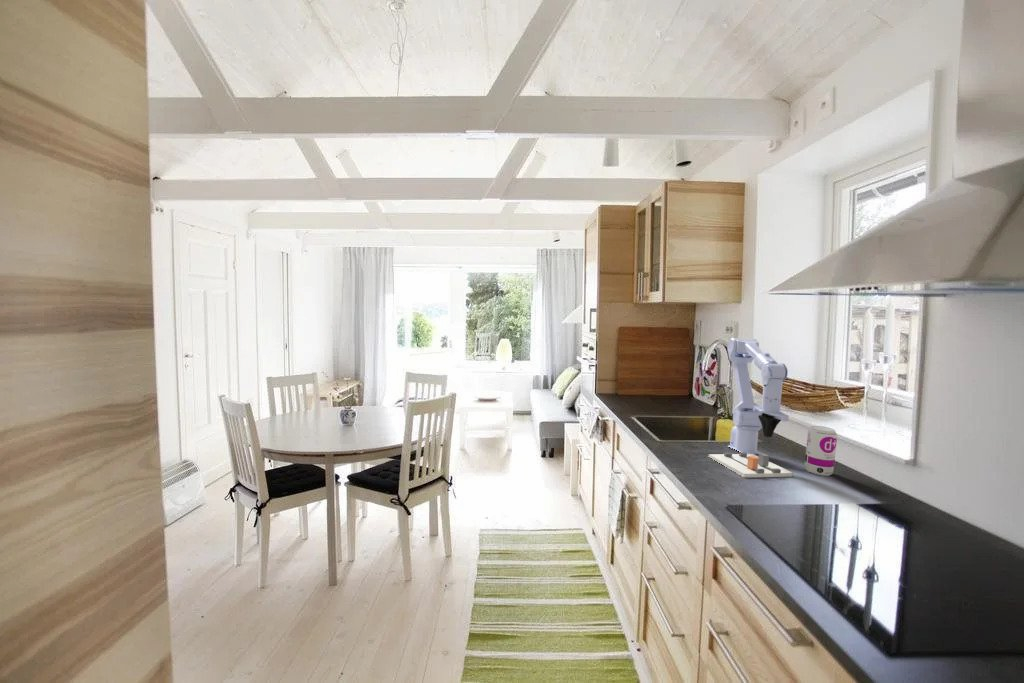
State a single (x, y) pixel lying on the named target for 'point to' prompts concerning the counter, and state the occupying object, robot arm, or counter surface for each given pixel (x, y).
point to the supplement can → (820, 450)
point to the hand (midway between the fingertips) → (767, 436)
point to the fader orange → (752, 462)
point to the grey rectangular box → (763, 459)
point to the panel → (740, 467)
